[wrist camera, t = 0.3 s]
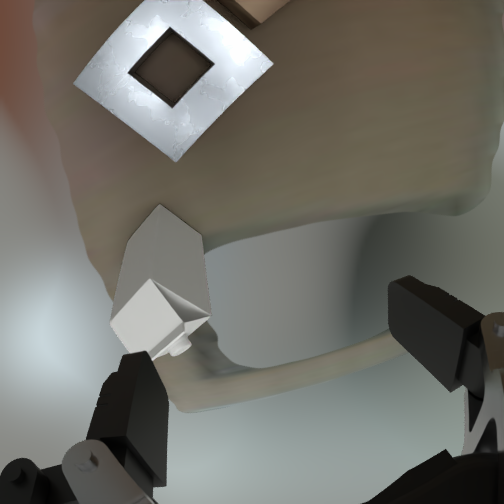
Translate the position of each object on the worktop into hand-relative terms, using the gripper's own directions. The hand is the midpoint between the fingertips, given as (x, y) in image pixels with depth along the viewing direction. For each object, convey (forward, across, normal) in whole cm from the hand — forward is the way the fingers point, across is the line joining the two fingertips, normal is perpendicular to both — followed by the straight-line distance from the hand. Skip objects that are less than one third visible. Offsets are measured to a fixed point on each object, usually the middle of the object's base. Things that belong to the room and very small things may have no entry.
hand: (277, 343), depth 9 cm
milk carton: (+32, +8, +2) cm, 33 cm away
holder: (+26, +1, -17) cm, 31 cm away
